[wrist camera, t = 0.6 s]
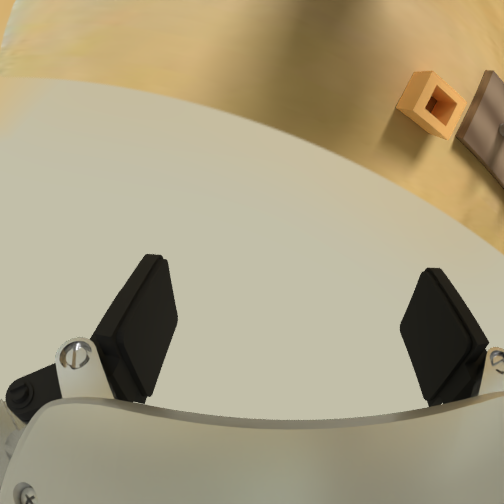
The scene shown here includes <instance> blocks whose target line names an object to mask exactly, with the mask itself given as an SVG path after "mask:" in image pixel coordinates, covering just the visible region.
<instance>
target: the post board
mask: <svg viewBox="0 0 504 504" xmlns="http://www.w3.org/2000/svg"><path fill="white" fill-rule="evenodd" d="M456 137H457V138H458V139H459V140H460V141H461V142H462V143H463V144H464V145H465V146H466V147H467V148H468V149H469V150H470V151H471V152H472V153H473V154H474V155H475V156H476V157H477V159H478V160H479V161H480V162H481V163H482V164H483V165H484V166H485V167H486V168H487V170H488V171H489V172H490V173H491V174H492V175H493V177H494V178H495V179H496V180H497V181H498V182H499V184H500V185H501V186H502V187H503V189H504V83H503V81H502V80H501V79H500V78H499V77H498V75H497V74H496V73H495V72H494V71H488V70H485V73H484V75H483V78H482V80H481V83H480V85H479V87H478V90H477V92H476V94H475V96H474V99H473V101H472V103H471V105H470V107H469V109H468V112H467V114H466V116H465V118H464V120H463V122H462V124H461V126H460V128H459V130H458V132H457V134H456Z"/></svg>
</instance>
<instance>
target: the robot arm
mask: <svg viewBox="0 0 504 504" xmlns="http://www.w3.org/2000/svg"><path fill="white" fill-rule="evenodd" d="M177 321H178V315H177V310H176V305H175V300H174V295H173V289H172V284H171V278H170V273H169V266H168V262H167V260H166V259H163V257H162V256H161V255H154V254H153V255H152V254H146V255H145V256H144V257H143V259H142V260H141V261H140V263H139V264H138V266H137V268H136V269H135V270H134V272H133V273H132V275H131V276H130V278H129V279H128V281H127V282H126V284H125V285H124V287H123V288H122V289H121V291H120V292H119V293H118V295H117V296H116V298H115V299H114V301H113V302H112V304H111V306H110V307H109V309H108V310H107V312H106V313H105V315H104V317H103V318H102V320H101V322H100V324H99V325H98V326H97V328H96V330H95V332H94V333H93V335H92V337H91V338H90V339H87V338H83V337H77V338H73V339H70V340H68V341H66V342H65V343H64V344H62V345H61V347H60V348H59V349H58V351H57V354H56V356H55V363H54V364H52V365H50V366H47V367H45V368H43V369H40V370H38V371H36V372H33V373H31V374H29V375H26V376H24V377H22V378H19V379H17V380H16V381H14V382H13V383H12V384H11V385H10V386H9V388H8V390H7V393H6V401H3V400H2V399H1V400H0V504H504V349H502V348H499V347H493V348H490V349H489V350H488V351H486V349H485V348H486V346H487V345H488V344H489V341H488V340H487V338H486V336H485V334H484V333H483V331H482V329H481V328H480V326H479V324H478V323H477V321H476V319H475V318H474V316H473V315H472V313H471V312H470V310H469V308H468V307H467V305H466V304H465V302H464V301H463V300H462V298H461V296H460V295H459V293H458V292H457V290H456V289H455V288H454V286H453V285H452V283H451V282H450V280H449V279H448V278H447V276H446V275H445V274H444V272H443V271H442V270H441V269H440V268H427V269H426V270H425V271H424V272H422V273H421V275H420V278H419V280H418V283H417V285H416V288H415V291H414V293H413V296H412V298H411V300H410V303H409V305H408V308H407V310H406V312H405V315H404V317H403V319H402V321H401V324H400V333H401V335H402V338H403V340H404V343H405V346H406V348H407V351H408V354H409V356H410V359H411V362H412V365H413V367H414V370H415V373H416V376H417V379H418V382H419V384H420V388H421V391H422V394H423V397H424V399H425V400H427V402H428V405H429V407H427V408H422V409H417V410H412V411H406V412H399V413H392V414H386V415H385V414H384V415H377V416H367V417H358V418H345V419H327V420H266V419H247V418H234V417H223V416H214V415H205V414H198V413H191V412H184V411H177V410H171V409H165V408H159V407H154V406H148V405H144V404H145V401H146V398H147V396H149V397H150V396H151V395H152V394H153V391H154V388H155V385H156V382H157V379H158V376H159V373H160V370H161V367H162V364H163V361H164V359H165V356H166V353H167V350H168V348H169V345H170V342H171V339H172V336H173V334H174V331H175V328H176V326H177ZM133 402H138V403H133ZM139 403H143V404H139ZM442 403H443V404H442ZM441 404H442V405H441Z"/></svg>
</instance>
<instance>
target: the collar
mask: <svg viewBox="0 0 504 504" xmlns="http://www.w3.org/2000/svg"><path fill="white" fill-rule="evenodd" d="M431 96H432V97H433V98H435V99H436V100H437V102H436V104H435V106H434V108H433V110H432V112H431V113H430V112H429V111H427V110H426V109H425V107H426V105H427V103H428V101H429V99H430V97H431ZM466 104H467V102H466V101H465V100H464V99H463V98H462V97H461V96H460V95H459V94H458V93H457V92H456V91H455V90H454V89H453V88H452V87H451V86H450V85H448V84H447V83H446V82H445V81H444V80H443V79H442V78H441V77H440V76H438V75H437V74H436V73H435V72H434V71H423V72H414V73H413V75H412V77H411V79H410V81H409V83H408V85H407V87H406V89H405V91H404V93H403V95H402V96H401V98H400V100H399V102H398V104H397V106H396V108H397V109H398V110H399V111H401V112H402V113H403V114H405V115H406V116H407V117H409V118H410V119H411V120H413V121H414V122H415V123H417V124H418V125H419V126H420V127H422V128H423V129H424V130H425V131H426V132H428V133H429V134H432V135H435V136H438V137H440V138H443V139H446V140H449V138H450V136H451V134H452V132H453V130H454V128H455V126H456V124H457V122H458V120H459V118H460V116H461V114H462V112H463V110H464V108H465V106H466Z"/></svg>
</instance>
